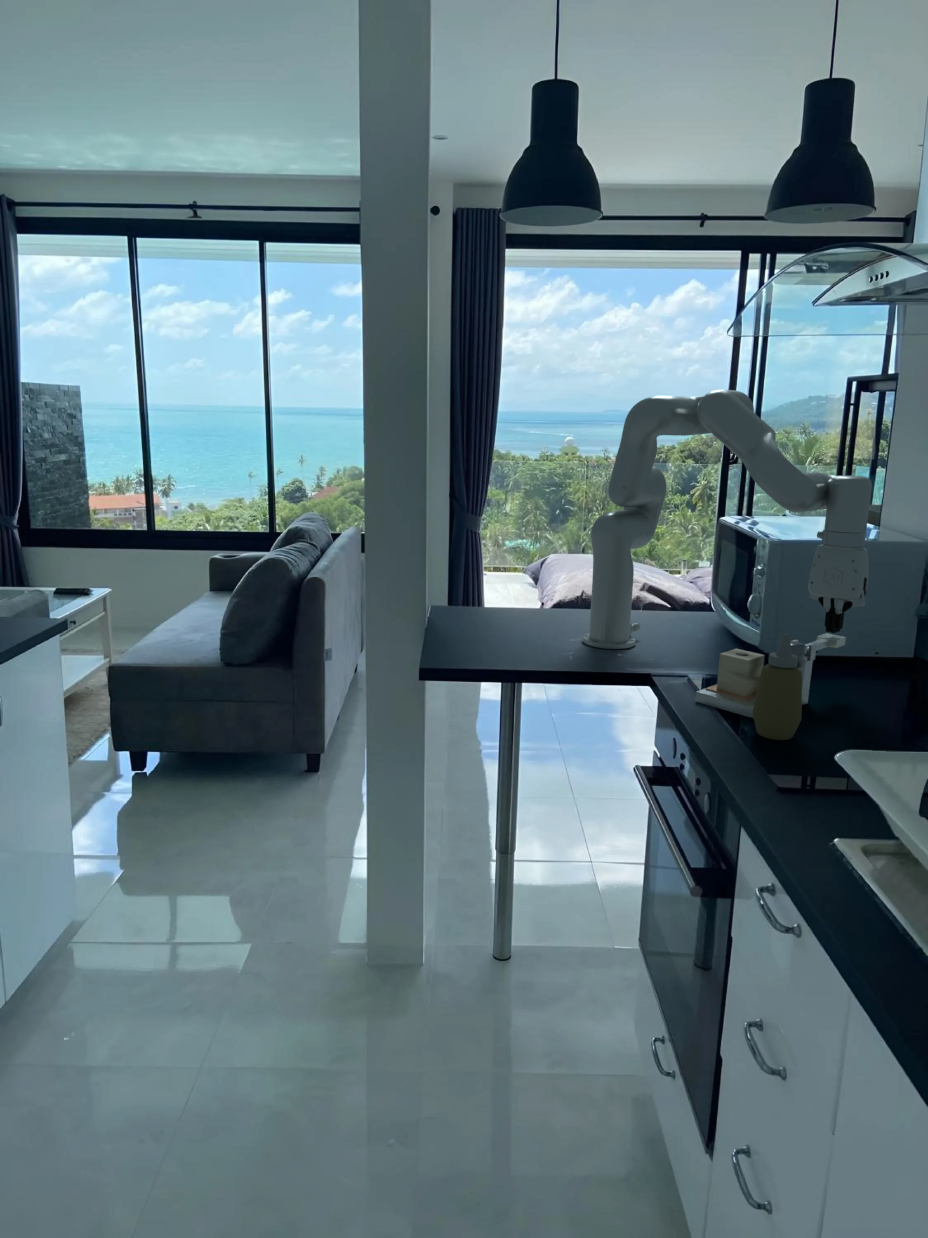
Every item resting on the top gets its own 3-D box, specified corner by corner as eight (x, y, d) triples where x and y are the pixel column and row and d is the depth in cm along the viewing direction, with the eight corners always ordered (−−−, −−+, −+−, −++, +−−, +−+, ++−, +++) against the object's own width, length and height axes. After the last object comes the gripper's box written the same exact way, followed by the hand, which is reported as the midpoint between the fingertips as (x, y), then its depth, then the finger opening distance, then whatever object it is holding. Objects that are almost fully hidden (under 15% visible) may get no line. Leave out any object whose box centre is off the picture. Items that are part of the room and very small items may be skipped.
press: (739, 685, 178) (745, 628, 175) (810, 703, 167) (817, 643, 165) (695, 701, 167) (700, 641, 164) (768, 722, 156) (775, 658, 154)
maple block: (732, 682, 172) (736, 648, 170) (760, 690, 168) (764, 654, 166) (716, 688, 168) (719, 653, 166) (744, 696, 164) (748, 660, 162)
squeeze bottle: (768, 745, 145) (780, 641, 141) (740, 728, 153) (751, 629, 149) (809, 741, 148) (822, 639, 143) (780, 725, 155) (791, 627, 151)
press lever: (823, 646, 177) (826, 627, 176) (845, 650, 174) (847, 631, 173) (773, 664, 163) (775, 643, 162) (795, 669, 160) (798, 648, 159)
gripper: (798, 537, 172) (788, 627, 176) (874, 546, 161) (862, 642, 165) (815, 534, 177) (805, 622, 181) (891, 543, 166) (878, 635, 170)
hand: (832, 631), depth 173 cm, fingers closed
